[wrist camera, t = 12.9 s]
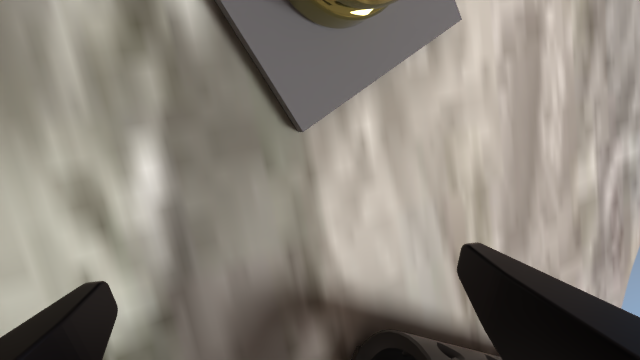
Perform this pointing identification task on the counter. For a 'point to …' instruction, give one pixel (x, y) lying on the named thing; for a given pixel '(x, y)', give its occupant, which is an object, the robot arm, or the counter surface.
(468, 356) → the muzzle brake
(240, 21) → the charcoal mat
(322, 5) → the olive rounded upright piece
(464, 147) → the counter surface
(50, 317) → the robot arm
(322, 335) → the counter surface
